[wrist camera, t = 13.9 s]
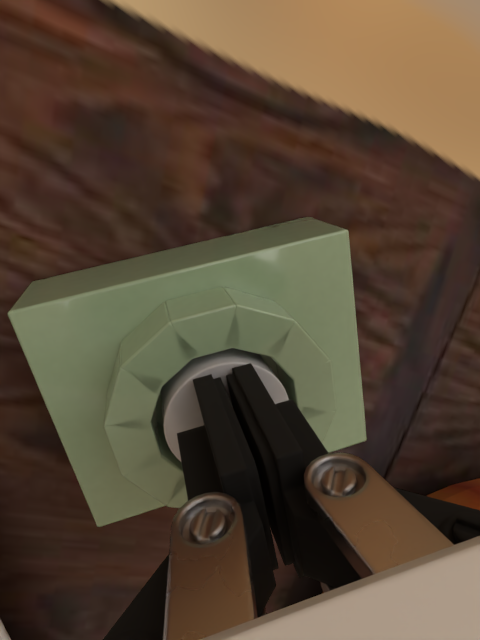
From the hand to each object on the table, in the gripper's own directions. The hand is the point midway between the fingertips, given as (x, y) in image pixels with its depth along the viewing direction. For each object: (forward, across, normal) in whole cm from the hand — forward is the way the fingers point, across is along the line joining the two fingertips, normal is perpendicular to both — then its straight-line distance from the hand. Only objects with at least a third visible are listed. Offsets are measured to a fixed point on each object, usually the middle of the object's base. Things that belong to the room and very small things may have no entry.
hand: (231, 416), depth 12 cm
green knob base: (+5, 0, 0) cm, 5 cm away
